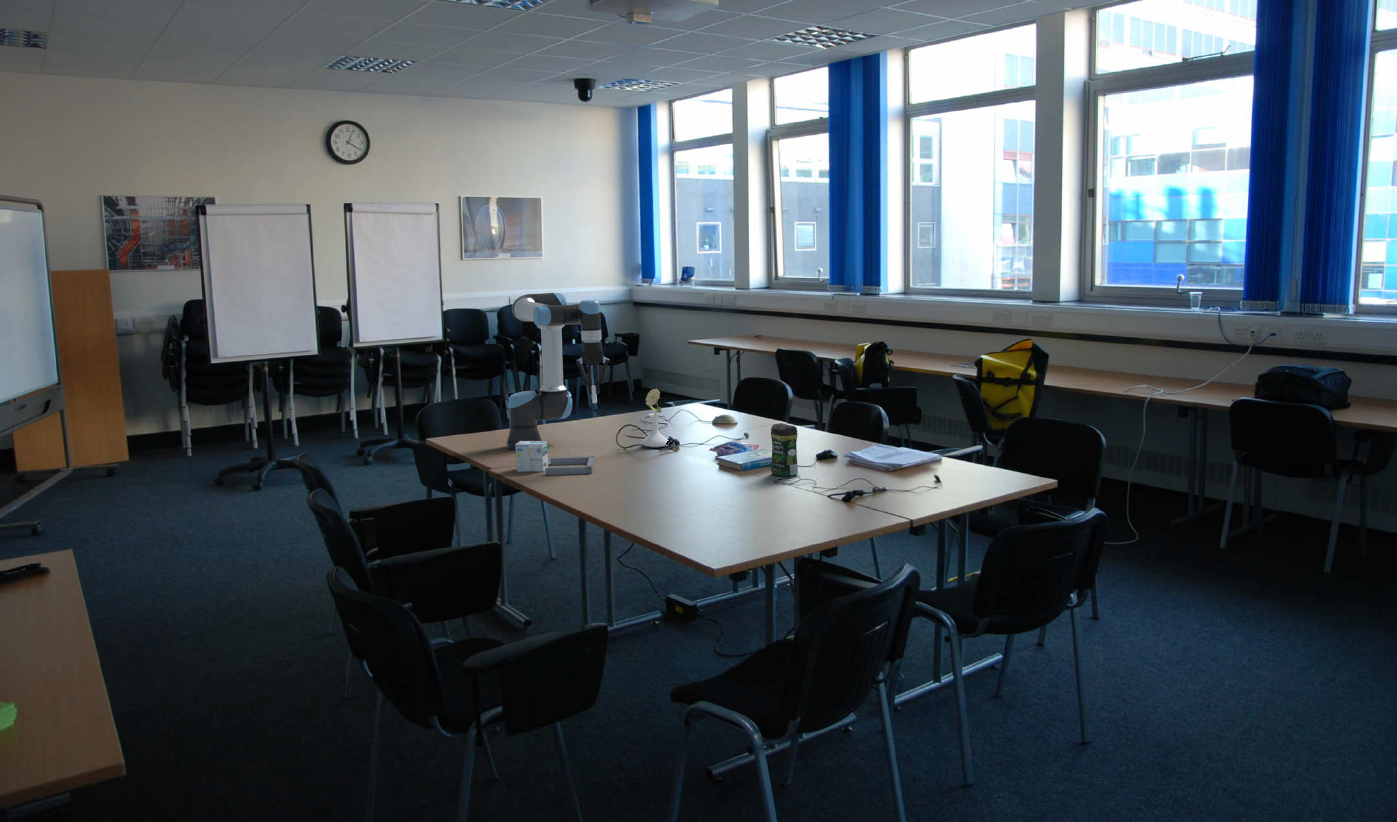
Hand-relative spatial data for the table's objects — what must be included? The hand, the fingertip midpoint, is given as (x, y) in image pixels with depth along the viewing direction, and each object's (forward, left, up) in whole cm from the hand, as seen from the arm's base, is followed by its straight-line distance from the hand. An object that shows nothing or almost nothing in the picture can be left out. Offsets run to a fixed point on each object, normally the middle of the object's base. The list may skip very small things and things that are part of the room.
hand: (594, 402), depth 372 cm
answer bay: (+7, -10, -24) cm, 27 cm away
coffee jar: (+29, +69, -24) cm, 79 cm away
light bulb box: (+7, -24, -24) cm, 35 cm away
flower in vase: (-31, +23, -24) cm, 46 cm away
